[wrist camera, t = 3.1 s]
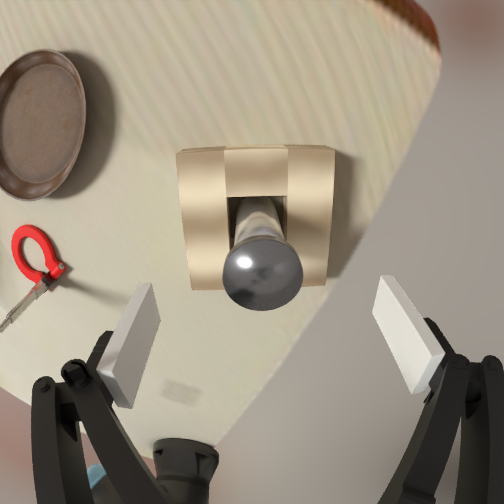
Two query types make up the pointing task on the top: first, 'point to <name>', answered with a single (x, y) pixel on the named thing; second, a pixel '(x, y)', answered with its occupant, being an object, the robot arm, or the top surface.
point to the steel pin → (261, 259)
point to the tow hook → (41, 281)
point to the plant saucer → (39, 123)
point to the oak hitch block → (255, 184)
